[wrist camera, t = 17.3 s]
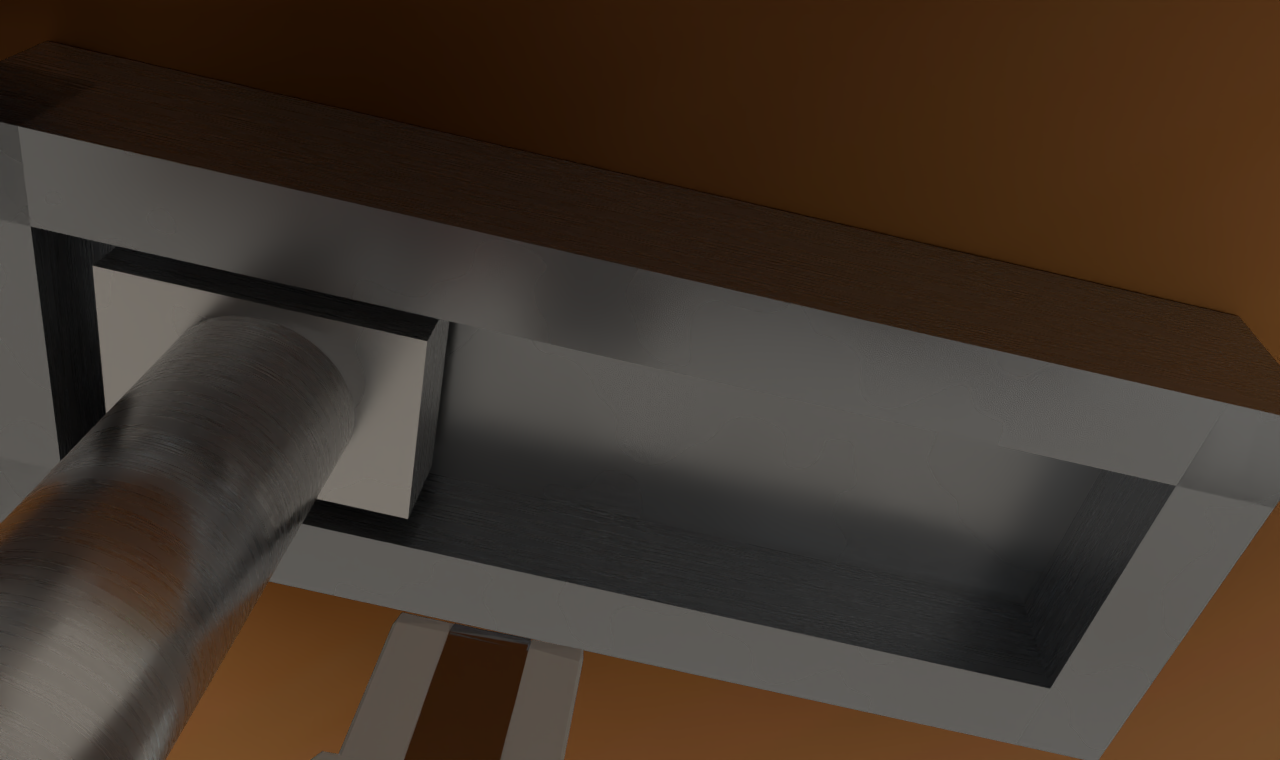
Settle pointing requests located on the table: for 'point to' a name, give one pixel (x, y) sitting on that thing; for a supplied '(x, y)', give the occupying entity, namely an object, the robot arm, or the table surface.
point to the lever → (196, 492)
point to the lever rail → (678, 405)
